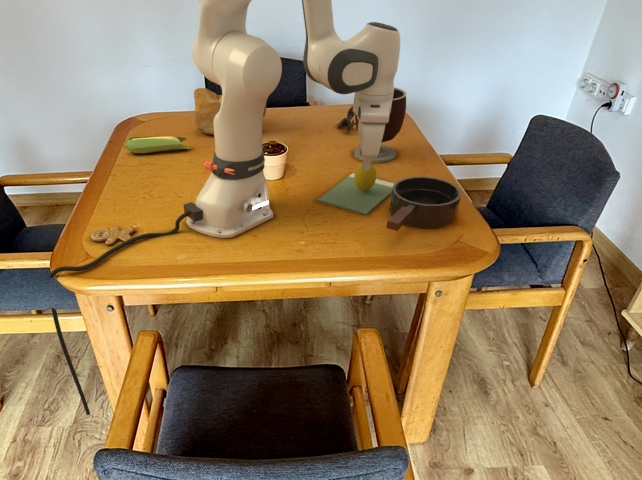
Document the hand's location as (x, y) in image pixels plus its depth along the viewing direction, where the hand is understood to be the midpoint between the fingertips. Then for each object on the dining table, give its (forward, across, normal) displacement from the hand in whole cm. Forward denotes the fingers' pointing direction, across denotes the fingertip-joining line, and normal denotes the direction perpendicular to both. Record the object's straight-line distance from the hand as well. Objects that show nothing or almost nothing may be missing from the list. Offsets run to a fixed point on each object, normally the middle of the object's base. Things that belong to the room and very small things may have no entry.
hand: (364, 162), depth 133 cm
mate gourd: (+8, -28, +5) cm, 29 cm away
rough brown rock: (+9, -48, -40) cm, 63 cm away
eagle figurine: (+8, -48, -2) cm, 49 cm away
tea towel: (+8, -1, 0) cm, 9 cm away
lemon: (+8, -1, +1) cm, 8 cm away
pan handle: (+4, +21, +8) cm, 23 cm away
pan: (+8, +10, +14) cm, 19 cm away
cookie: (+10, +25, -59) cm, 65 cm away
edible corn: (+10, -27, -60) cm, 66 cm away
